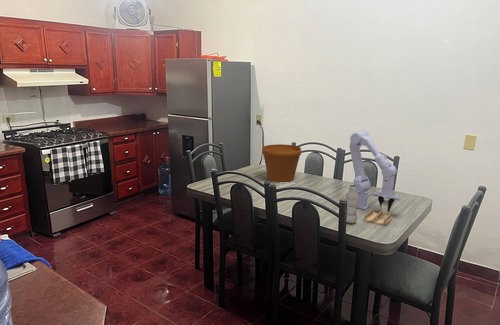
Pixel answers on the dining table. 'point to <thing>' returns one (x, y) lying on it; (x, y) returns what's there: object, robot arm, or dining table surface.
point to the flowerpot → (281, 161)
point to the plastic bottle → (352, 204)
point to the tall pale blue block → (384, 207)
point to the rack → (377, 218)
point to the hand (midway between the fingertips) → (385, 210)
